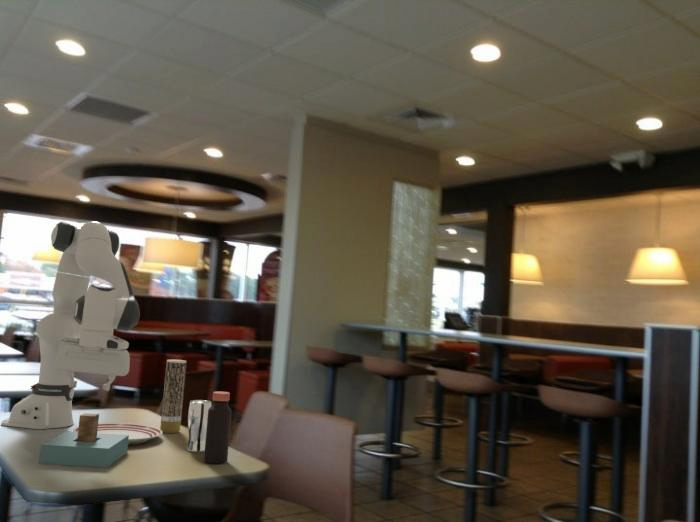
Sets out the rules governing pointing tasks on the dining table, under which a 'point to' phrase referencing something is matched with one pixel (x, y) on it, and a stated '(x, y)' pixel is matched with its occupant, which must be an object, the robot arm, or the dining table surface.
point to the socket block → (83, 450)
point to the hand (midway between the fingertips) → (89, 389)
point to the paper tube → (173, 396)
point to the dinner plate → (129, 431)
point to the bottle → (218, 429)
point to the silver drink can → (197, 425)
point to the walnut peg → (88, 427)
